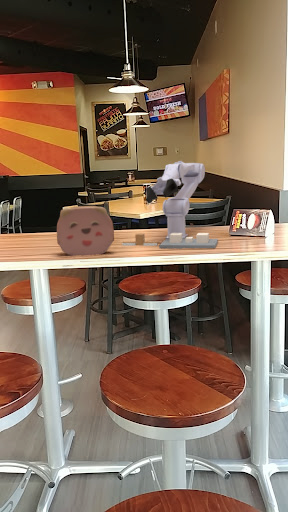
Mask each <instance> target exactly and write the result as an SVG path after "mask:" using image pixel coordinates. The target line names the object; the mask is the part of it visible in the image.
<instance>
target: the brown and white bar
mask: <svg viewBox="0 0 288 512" xmlns="http://www.w3.org/2000/svg"><path fill="white" fill-rule="evenodd" d="M134 236H135V241H122V243H121V246H122V247H123V246H128V247H129V246H130V247H131V246H135V247H136V246H143V247H144V246H146V247H147V246H149V247H156V246H159V241H146V239H145V238H146V237H145V233H136V234H135V235H134Z"/></svg>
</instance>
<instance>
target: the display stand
mask: <svg viewBox="0 0 288 512" xmlns="http://www.w3.org/2000/svg"><path fill="white" fill-rule="evenodd" d="M195 236H196V238H194V237H193V236H186V237H185V238H182V233H171V234H170V238H165V240H163V241H162V242H161V243H160V244H158V246H159V249H182V248H215V249H216V247H217V244H218V243H219V239H218V238H210V233H209V232H198V233H196V235H195Z"/></svg>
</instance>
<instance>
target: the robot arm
mask: <svg viewBox="0 0 288 512" xmlns="http://www.w3.org/2000/svg"><path fill="white" fill-rule="evenodd" d="M205 173H206V168H205V165H204V163H199V162H186V163H185V162H183V160H178V161H175V162H174V163H169V164H166V165H165V169H164V171H163V174H162V176H160V177H158V178H157V179H156V181H157V182H156V183H154V185H153V186H152V187H151V186H147V187H146V188H145V194H146V198H145V200H146V202H147V204H151V203H152V202H153V201H155V200H158V196H157V195H163V196H164V198H167V199H164V201H163V202H162V212H163V214H164V215H165V217H167V220H166V221H167V223H166V224H167V236H165V237H164V238H165V239H170V234H171V233H182V239H185V238H186V237H188V235H189V234H188V233H186V219H185V218H186V215H188V213H189V210H190V198H191V197H192V195H193V194H194V193H195V191H196V189H197V187H198V185H199V184H201V182H202V181H203V180H204V178H205ZM180 179H181V180H180ZM182 184H183V186H182V187H181V189H180V190H179V188H178V186H179V187H180V186H181V185H182ZM174 193H177V194H176V195H175V196H172V197H169V196H171V195H172V194H174Z"/></svg>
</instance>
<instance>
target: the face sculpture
mask: <svg viewBox="0 0 288 512" xmlns="http://www.w3.org/2000/svg"><path fill="white" fill-rule="evenodd" d="M56 240H57V241H56V242H57V244H58V246H59V248H60V249H61V251H62V252H63V253H65V254H66V255H68V256H70V257H77V256H76V255H81V256H92V255H93V256H94V255H95V254H99V255H103V254H105V253H106V252H107V251H108V250H109V248H110V247H111V246H112V244H113V242H114V241H115V230H114V224H113V220H112V218H111V217H110V216H109V214H108V212H107V209H106V208H105V207H102V206H96V205H83V206H82V205H81V206H79V205H78V206H77V205H76V206H73V207H65V208H63V209H61V210H60V214H59V218H58V220H57V224H56Z"/></svg>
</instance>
